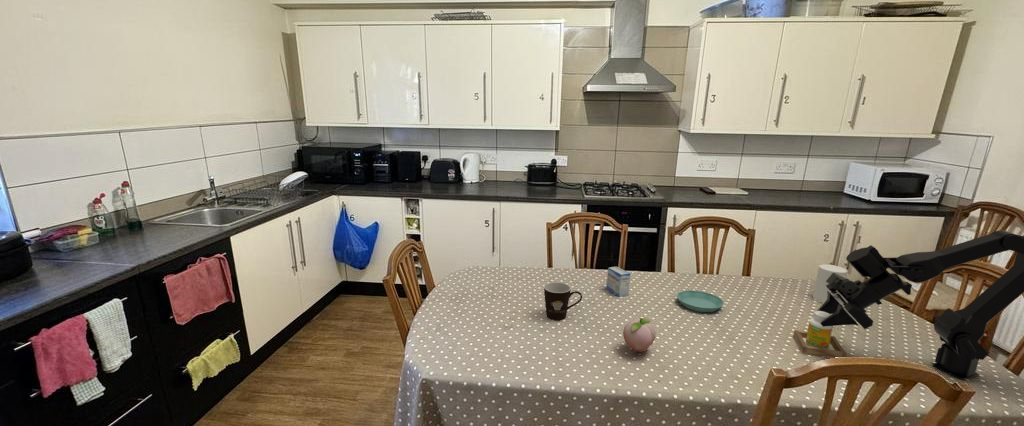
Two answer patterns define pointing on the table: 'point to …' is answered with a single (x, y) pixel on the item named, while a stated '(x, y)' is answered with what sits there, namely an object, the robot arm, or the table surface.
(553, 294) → the coffee mug
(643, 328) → the decorative fruit
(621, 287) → the medicine box
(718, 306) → the saucer
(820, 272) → the cup
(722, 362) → the table surface
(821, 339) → the supplement bottle
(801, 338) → the tray
